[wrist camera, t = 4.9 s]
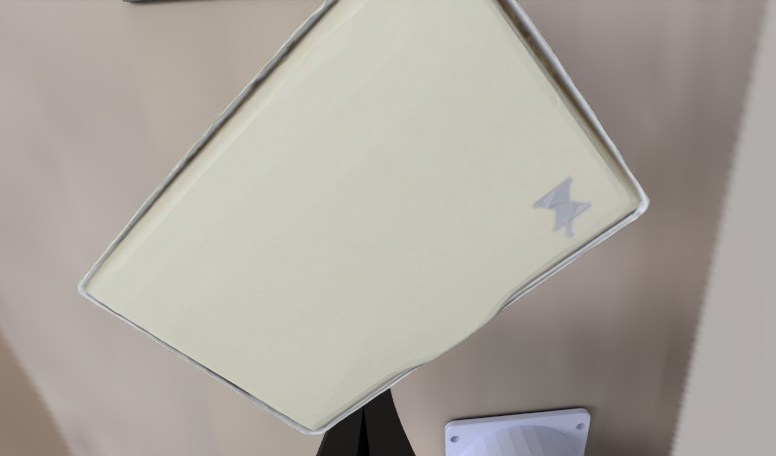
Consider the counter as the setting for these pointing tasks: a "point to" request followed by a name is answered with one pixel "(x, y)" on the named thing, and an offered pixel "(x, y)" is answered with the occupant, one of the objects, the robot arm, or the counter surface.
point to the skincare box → (368, 205)
